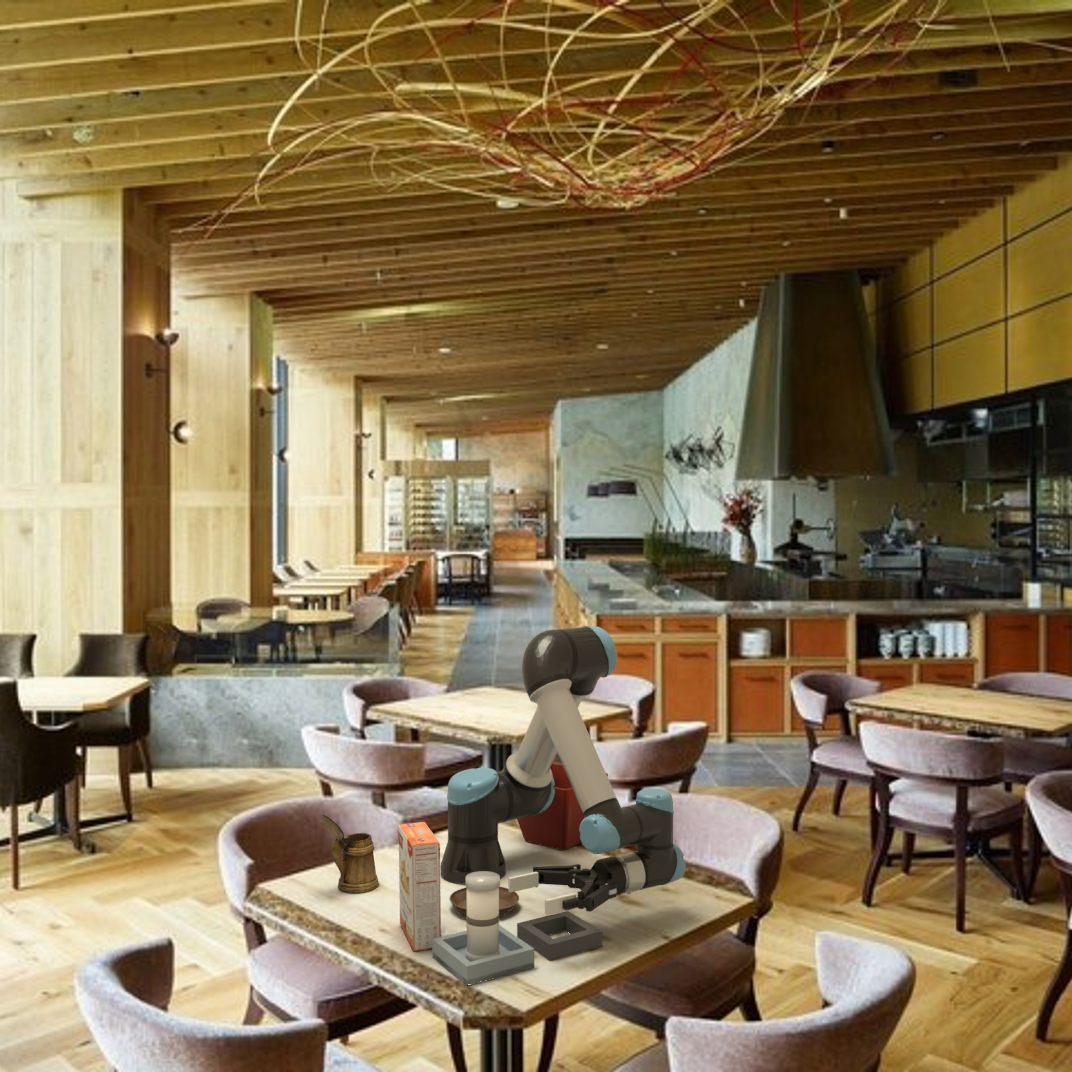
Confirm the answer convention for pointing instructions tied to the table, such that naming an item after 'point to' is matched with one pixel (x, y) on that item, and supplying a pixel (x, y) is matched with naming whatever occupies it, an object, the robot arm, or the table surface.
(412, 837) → the cracker box
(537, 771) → the robot arm
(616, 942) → the table surface
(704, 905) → the table surface
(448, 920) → the table surface
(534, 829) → the plant pot
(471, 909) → the cylinder
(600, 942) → the dark grey square frame
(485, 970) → the tray
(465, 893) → the saucer
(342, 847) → the wooden mug
